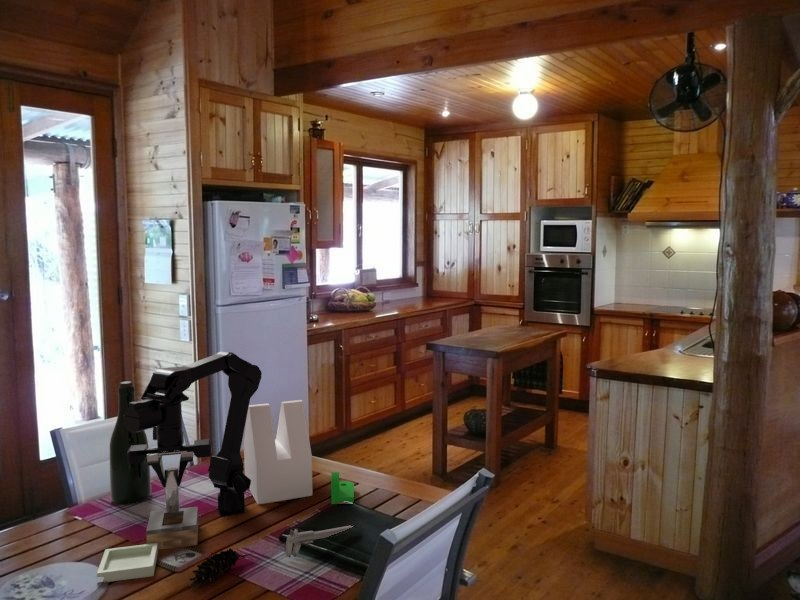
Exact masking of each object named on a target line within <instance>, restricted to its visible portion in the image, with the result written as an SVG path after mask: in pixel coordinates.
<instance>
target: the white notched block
mask: <svg viewBox="0 0 800 600" xmlns="http://www.w3.org/2000/svg"><path fill="white" fill-rule="evenodd" d="M305 413H306V412H305V406H304V400H302V399H296V400H295V399H294V400H287V401H285V400H284V401H281V403H280V410H279V417H278V424H277V428H276V429H277V431H276V436H275V434H274V433H275V431H274V426H273V420H272V412H271V405H270V404H269V403H268V402H267V403H259V404H258V403H257V404H249V407H248V413H247V418H246V423H245V428H244V436H243V456H244V457H243V459H244V461H243V467H244V475H246V476H247V477H248V478H249V479H250V480H251V484H250V488H249V489H248V490H249V491H250V493H251V495H252V496H253V498H254V500H255V503H256V505H264V504H270V503H276V502H282V501H287V500H294V499H298V498H306V497H310V496H311V497H312V496H313V456H312V450H311V443H310V437H309V430H308V426H307V419H306V414H305Z"/></svg>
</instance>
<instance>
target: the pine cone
mask: <svg viewBox="0 0 800 600" xmlns="http://www.w3.org/2000/svg"><path fill="white" fill-rule="evenodd" d="M251 555H252V553H247V554H244V555H243V554H240V553H239V552H238V551H236V550H233V549H232V548H231V547H230V548H228V549H227V550H221V551H220V552H219V553H214V554H212V555H211V556H210V557H206V558H205V560H203V561H202V562H201V563H200V564H197V565H196V567H197V568H198V569H194V570H192V574H194V575H195V576H194V577H189V579H188V580H189V582H192V583H191V584H190V585H189V587H192V589H194V588H195V587H196V586H198V587H200V586H202V587H204V586H205V584H207V583H209V584H210V583H212V582H215V581H216V579H217V575H219V576H223V575H224V572H225V570H228V571H231V570H232V567H233V566H234V567H236V563H237V562H238V560H240V558H244V559H245V558H246V557H248V556H251Z"/></svg>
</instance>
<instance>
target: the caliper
mask: <svg viewBox="0 0 800 600" xmlns="http://www.w3.org/2000/svg"><path fill="white" fill-rule="evenodd" d="M351 525H352V524H351ZM351 525H345V526H340V527H333V528H329V529H324V530H318V531H313V530H306V531H300V532H299V530H298V529H296V528H295V529H294V530H292V529H290V531H289V534H287V535H286V541H285V557H288V558H289V559H291V557H292V556H293V557H297V556H298V554H299V551H300V549H301V546H302V544H304V545H309V544H311V545H312V544H314V541H315V540H320V539H325V538H330V537H329V536H331V535H334V534H337V533H339V532H342V531H345V530H347V529H349V528H352V527H353V526H354V525H353V526H351ZM331 537H332V536H331Z"/></svg>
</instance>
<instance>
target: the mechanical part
mask: <svg viewBox="0 0 800 600" xmlns="http://www.w3.org/2000/svg"><path fill="white" fill-rule="evenodd" d="M330 476H331V477H330V479H331V481H330V483H331V484H330V487H331V489H330V491H331V495H330V496H331V504H330V505H331V506H333V505H332V504H335V503H339V502H343V501H349V502H354V501H355V484H354V482H351V481H348V480H347V481H346V480H344V481H341V480H340V472H339V471H332V472H331V475H330ZM354 503H355V502H354Z"/></svg>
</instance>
